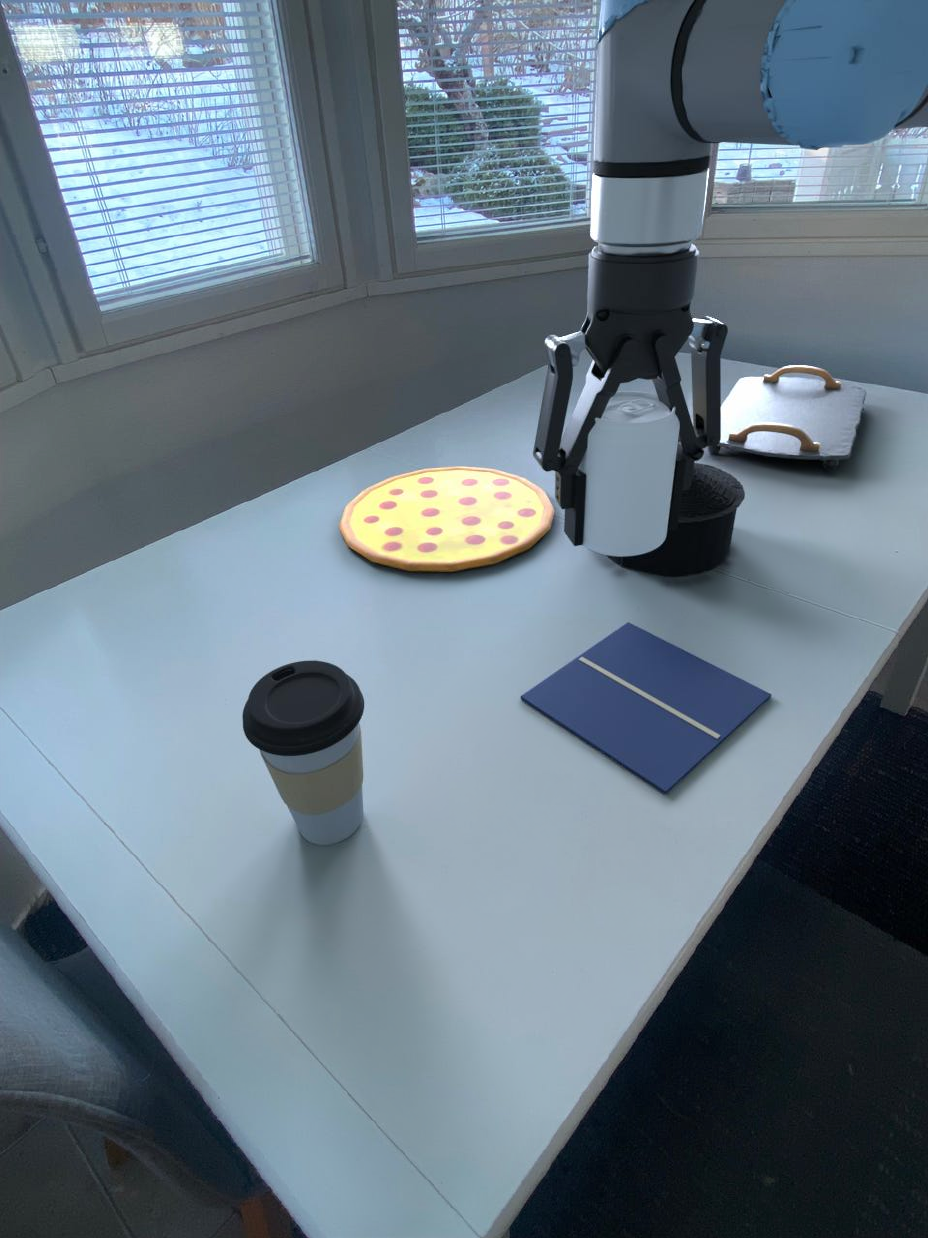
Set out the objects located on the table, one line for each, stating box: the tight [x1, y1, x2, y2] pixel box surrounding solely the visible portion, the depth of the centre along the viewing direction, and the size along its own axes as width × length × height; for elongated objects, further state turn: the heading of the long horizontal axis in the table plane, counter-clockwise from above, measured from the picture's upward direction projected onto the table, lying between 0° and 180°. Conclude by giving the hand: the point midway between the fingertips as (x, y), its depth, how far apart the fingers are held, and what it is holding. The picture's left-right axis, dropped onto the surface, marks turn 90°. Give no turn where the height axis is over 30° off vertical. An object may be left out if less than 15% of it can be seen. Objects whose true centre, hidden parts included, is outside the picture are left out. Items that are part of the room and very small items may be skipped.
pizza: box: [338, 465, 555, 573], centre depth 109 cm, size 32×32×1 cm
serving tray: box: [706, 364, 867, 472], centre depth 128 cm, size 39×23×6 cm, turn 152°
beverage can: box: [578, 390, 680, 557], centre depth 61 cm, size 8×8×12 cm
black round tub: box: [606, 462, 746, 578], centre depth 95 cm, size 18×18×15 cm
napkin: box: [520, 621, 772, 795], centre depth 75 cm, size 18×18×1 cm
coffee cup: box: [241, 659, 365, 846], centre depth 60 cm, size 9×9×15 cm
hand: (620, 530), depth 64 cm, fingers closed on beverage can, 8 cm apart
